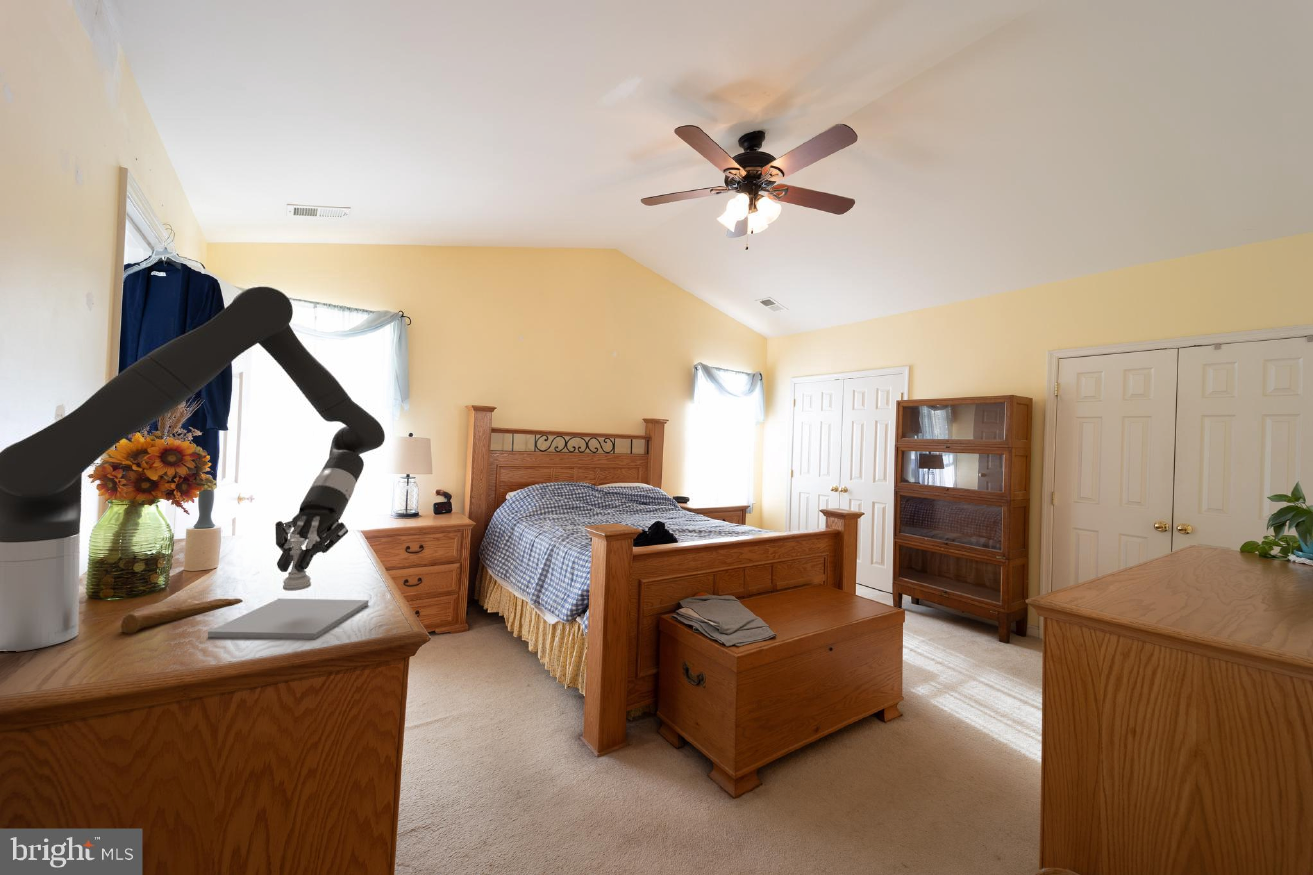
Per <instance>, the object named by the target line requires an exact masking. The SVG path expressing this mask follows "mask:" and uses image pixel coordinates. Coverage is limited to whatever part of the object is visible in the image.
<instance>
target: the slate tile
mask: <svg viewBox="0 0 1313 875" xmlns="http://www.w3.org/2000/svg"><path fill="white" fill-rule="evenodd" d="M367 605H368V606H369V600H368V599H330V598H329V599H328V598H327V599H325V598H324V599H321V598H320V599H319V598H318V599H317V598H277V599H276V600H275V599H274V600H273V601H271V602H268V603H266V604H264V605H263V606H260V607H258V608H256V609H253V610H251V611H249V612H247V613H244V614H242V615H241V616H238V617H236V618H234V619H231V620H230V621H227V622H226V623H223V624H221V625H218V626H217V627H214V628H213V629H210V630H208V631H207V638H222V639H224V638H232V639H236V638H238V639H285V640H286V639H287V640H288V639H289V640H290V639H291V640H292V639H293V640H294V639H295V640H316V639H317V638H319V637H320V636H322V635H324V634H325V633H327V632H328V631H330V630H331V629H334V627H336V626H338V625H339V624H341V623H343V622H344V621H345V620H347V619H349V618H350V617H352V616H353V615H355V614H357V613H358V612H359V610H360V611H361V610H363V609H365V608H364V607H365V606H366V607H368V606H367ZM362 608H363V609H362ZM357 611H358V612H357ZM356 612H357V613H356ZM354 613H355V614H354Z"/></svg>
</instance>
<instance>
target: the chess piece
mask: <svg viewBox="0 0 1313 875" xmlns="http://www.w3.org/2000/svg"><path fill="white" fill-rule="evenodd" d="M299 537H300V536H299V535H296V538H294V539H291V540H290V542H291V543H292V544H293V547H294V548H293V549H292V551H290V555H293V561H292V564H291V565H292V566H291V570H290V571H289V572H288V573H287V574H288V576H287V577H285V578H284V580H283V585H282V590H284V591H286V592H287V591H289V592H293V591H295V592H296V591H302V590H305V589H309V588H310V587H311V586H312V582H311V578H312V577H311V576H309V575H308V574H307V571H306V569H305V570H304V571H303V572H297V571H296V569H295V568H294V565H295V563H296V561H297V560H298V558H299V556H300V554H301V552H302V550H304V549H303V547H302V543H303V542H304V541H305V539H304V538H299Z"/></svg>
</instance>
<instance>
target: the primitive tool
mask: <svg viewBox="0 0 1313 875" xmlns="http://www.w3.org/2000/svg"><path fill="white" fill-rule="evenodd" d="M243 602H244V600H243V599H241V598H217V599H211V600H207V601H200V602H197V603H192V604H188V605H184V606H180V607H174V608H169V609H164V610H158V611H153V612H147V613H141V614H134V613H129V614H126V615H125V616H123V618H122V620H121V623H120V627H121V632H122V633H125V634H134V633H136V632H138V631H139V630H142V629H144V628H145V629H146V628H149V627H153V626H156V625H161V624H164V623H165V624H166V623H168V622H172V621H176V620H180V619H184V618H187V617H190V616H195V615H199V614H203V613H207V612H209V611H214V610H217V609H221V608H225V607H229V606H233V605H238V604H240V603H243Z"/></svg>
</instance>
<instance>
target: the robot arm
mask: <svg viewBox="0 0 1313 875" xmlns="http://www.w3.org/2000/svg"><path fill="white" fill-rule="evenodd" d="M293 308H294V307H293V304H292V302H291V300H290V298H289V297H288V296H287V295H286V294H285V293H284V292H283V291H281V290H279V289H278V288H275V287H271V286H267V285H266V286H265V285H257V286H251V287H248V288H246V289H244V290H242V291H241V292H240V293H238V294H237V295H236V296H235V297H233V300H232V301H231V303H229V304H228V305H227V306H226V307H224V308H223V309H222V310H221V311H220V312H219V313H218V314H216V315H215V316H213V318H211V319H210V320H208V321H207V322H205V323H204V324H202V325H199V326H198V327H197V328H195V329H193V330H190V331H188V332H187V333H184V334H183V335H182V334H181V335H180V336H178V337H176V338H174V339H172V340H171V341H170V340H169V342H167V343H165V344H163V345H161V346H160V347H158V348H155V349H154V350H152V351H151V352H149V353H148V354H146V355H144V356H143V357H142V358H140V359H138V360H137V361H136V362H134V363H133V364H130V365H129V366H128V367H126V368H125V369H124V370H123V371H121V372H120V373H118V374H117V375H115V377H113V378H112V379H111V380H109V381H108V382H107V383H106V384H104V385H103V386H102V387H100V388H99V389H98V390H97V391H95V393H94V394H92V395H91V396H90V397H89V398H88V399H87V400H85V401H84V402H83V403H82V404H81V405H79V406H78V407H77V408H76V409H74V410H73V411H71V412H70V413H68V414H66V415H65V416H63V417H62V418H60V419H59V420H56V421H55V422H53V423H52V424H50V425H48V426H46V427H44V428H42V429H41V430H39V431H38V432H35V433H33V434H31V435H30V436H28V437H25V438H23V439H21V440H20V441H17V442H15V443H13V444H10V445H9V446H7V447H5V448H4V449H2V450H1V451H0V650H6V651H16V652H23V651H24V652H25V651H30V650H32V651H33V650H36V649H42V648H46V647H51V646H53V645H57V644H61V643H64V642H67V641H69V640H72V639H74V638H75V637H77V636H78V635H79V613H80V612H79V611H80V609H79V608H80V550H81V549H80V546H81V544H80V543H81V540H80V538H81V534H80V533H81V530H80V529H81V516H82V487H83V485H82V482H83V481H82V480H83V478H82V477H83V473H84V472H85V471H86V470H87V469H88V468H89V467H90V466H91V465H93V464H94V463H95V462H96V461H97V460H98V459H100V458H101V457H102V456H103V455H104V454H105V453H106V452H108V451H109V450H110V449H111V448H113V447H114V446H115V445H117V444H118V443H119V442H121V441H122V440H124V439H126V438H127V437H129V436H131V435H133V434H135V433H136V432H138V431H140V430H142V429H143V428H145V427H146V426H148V425H151V424H152V423H153V422H155V421H157V420H159V419H161V418H162V417H163V416H165V415H166V414H168V413H171V411H173V410H174V409H176V408H177V407H179V406H181V405H182V404H183V403H184V402H186V401H187V400H188V399H190V398H191V397H192V396H194V395H196V393H198V392H199V391H200V390H201V389H202V388H203V387H205V386H206V385H207V384H209V383H211V381H212V380H214V379H215V378H216V377H217V376H218V375H219V374H220V373H221V372H222V371H223V370H225V369H226V368H227V367H228V366H229V365H230V364H231V363H232V362H234V360H235V359H236V358H238V357H239V356H240V355H242V354H243V353H244V352H246V351H248V350H249V349H250V348H252V347H254V346H256V345H257V344H258V345H260V347H262V348H263V349H264V350H265V352H266V353H268V354H269V355H270V356H271V357H272V359H274V361H276V363H277V364H278V365H279V366H280V367H281V369H282V370H283V371H284V372H285V373H286V374H287V376H289V378H290V379H291V381H292V382H293V383H294V384H295V385H296V387H297V388H298V389H299V391H300V392H301V393H302V395H303V396H304V398H306V399H307V401H308V402H309V403H310V405H311V406H312V407H313V408H314V410H315V411H316V412H317V413H318V415H319V416H320V417H321V418H322V419H323V420H324V421H326V422H329V423H331V422H334V423H335V422H336V423H337V422H339V423H342V424H343V425H345V426H343V427H342V428H341V427H340V429H338V430H337V432H336V433H335V434H334V436H333V438H332V441H331V444H330V448H329V453H328V454H329V455H328V459H327V460H326V462H325V464H324V466H323V467H322V468H321V470H320V472H319V474H318V475H317V476H316V478H315V479H314V481H313V482H312V484H311V486H310V488H309V489H308V491H307V493H306V494H305V496H304V498H303V500H302V502H301V503H300V506H299V509H298V510H299V511H298V513H297V514H296V515H295V516H293V518H292V519H291V520H289V521H287V522H283V521H281V520H279V521H277V522H275V545H276V546H277V547H278V548H279V550H280V551H281V552H282V553H281V554H280V556H279V558H278V560H277V562H276V566H277V569H278V570H279V571H281V573H287V572H288V570H289V568H290V567H291V565H292V564H293V555H290V551H292V549H293V548H294V547H293V544H292V543H291V542H290V540H291V539H294V538H296V535H299V536H300V537H299V538H304V539H305V541H304V542H303V543H302V546H304V548H305V549H303V550H302V552H301V554H300V556H299V558H298V560H297V561H296V563H295V565H294V568H295V569H296V571H297V572H303V571H304V570H305V571H306V570H307V569H308V568H309V566H310V565H311V563H312V560H313V558H314V556H316V555H317V554H319V553H322V554H326V553H327V552H329V550H331V549H332V548H333V547H334V546H335V545H336V544H337V543H339V542H340V541H341V540H342V538H344V537H345V536H346V535H347V534H348V532H349V529H348V528H347V526H346V524H344V522H340V521H339V520H341V518H342V516H343V514H344V512H345V510H346V507H347V506H348V504H349V502H350V501H351V500H350V499H351V498H352V496H353V493H354V491H355V487H356V485H357V483H358V480H359V478H360V476H361V474H362V473H363V469H364V466H365V462H364V459H363V458H362V456H361V455H362V454H365V453H367V452H370V451H374V450H376V449H378V448H380V447H381V446H383V444H384V442H385V440H386V436H385V430H384V428H383V426H382V424H381V423H380V422H379V421H378V419H376V418H375V417H374V416H373V415H372V414H370V413H369V412H367V410H365V409H364V408H363V407H362V406H360V405H359V404H358V403H357V402H355V401H354V400H353V399H352V398H351V397H350V395H349V394H348V392H347V391H346V390H345V389H344V387H343V386H342V384H340V382H339V381H338V379H337V378H336V377H335V376H334V375H333V374H332V372H330V370H328V369H327V368H326V367H325V365H324V364H322V363H321V362H320V361H319V360H318V359H317V358H316V357H315V356H314V355H312V353H311V352H310V351H309V350H308V349H307V348H306V347H305V345H304V344H303V343H302V341H301V340H300V339H299V337H297V334H296V333H295V332H294V330H293V328H292V327H291V325H290V323H291V322H292V319H293V314H294V310H293ZM302 546H301V547H302Z"/></svg>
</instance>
